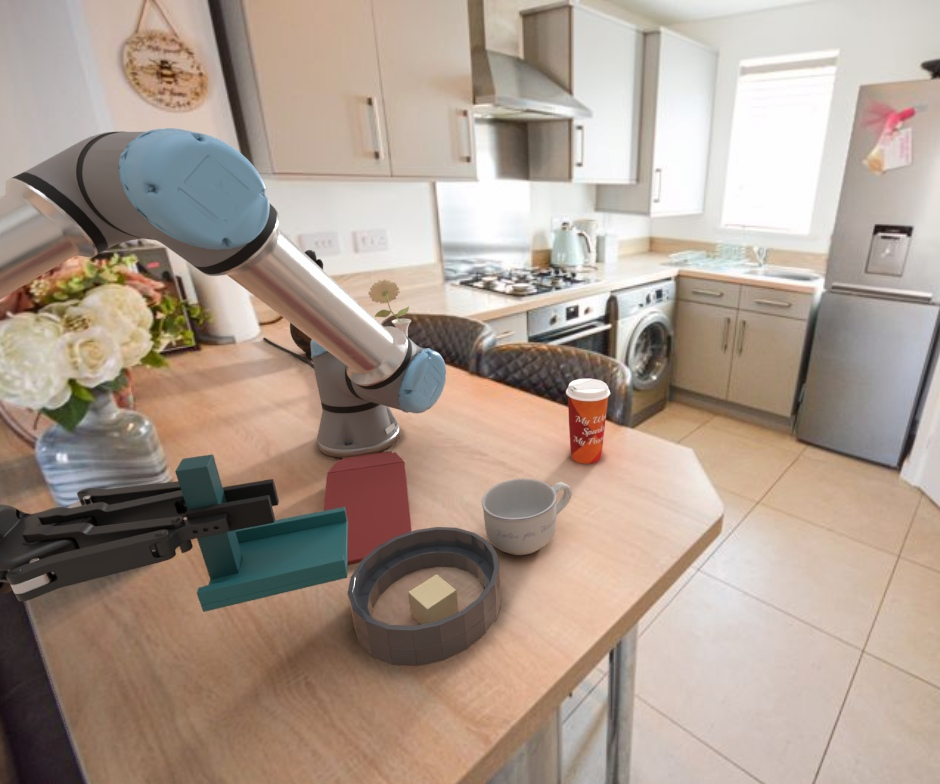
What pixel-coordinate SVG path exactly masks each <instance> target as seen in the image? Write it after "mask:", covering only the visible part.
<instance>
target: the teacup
mask: <svg viewBox="0 0 940 784" xmlns="http://www.w3.org/2000/svg"><path fill="white" fill-rule="evenodd" d="M561 491H563V494H562V497H560V500H559V501H558V502H557V500H558V493H559V492H561ZM572 493H573V492H572V489H571V487H570V485H569V484H567V483H566V482H563V481H558V482H556V483H555V484H553V485H550V484H549V483H547V482H545V481H542V480H539V479H535V478H515V479H514V478H513V479H509V480H505V481H502V482H501V481H500V482H499V483H497V484H494V485H493V486H491V487H490V488H489V489H487V490H486V491H485V492H484V494H483V496H482V498H481V507H482V510H483V520H484V527H485V532H486V533H485V534H486V536H487V539H488V540H489V543H490V544H492V546H493V547H495V548H496V549H497V550H499V551H501V552H504V553H507V554H509V555H514V556H524V555H525V556H526V555H529V554H533V553H535V552H538V551H539V550H540V549H542V548H543V547H545V546H546V545H547V544H548V543H550V541H551V540H552V539H553V537H554V535H555V534H556V529H557V522H558V519H557V516H558V515H559V514H560V513H561V512H562V511H563V510H564V509H565V508H566V506H567V505H568V504H569V503H570V501H571V499H572Z"/></svg>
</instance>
